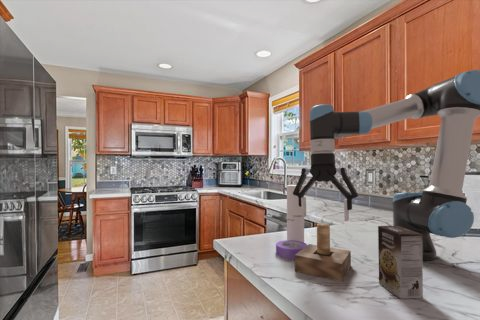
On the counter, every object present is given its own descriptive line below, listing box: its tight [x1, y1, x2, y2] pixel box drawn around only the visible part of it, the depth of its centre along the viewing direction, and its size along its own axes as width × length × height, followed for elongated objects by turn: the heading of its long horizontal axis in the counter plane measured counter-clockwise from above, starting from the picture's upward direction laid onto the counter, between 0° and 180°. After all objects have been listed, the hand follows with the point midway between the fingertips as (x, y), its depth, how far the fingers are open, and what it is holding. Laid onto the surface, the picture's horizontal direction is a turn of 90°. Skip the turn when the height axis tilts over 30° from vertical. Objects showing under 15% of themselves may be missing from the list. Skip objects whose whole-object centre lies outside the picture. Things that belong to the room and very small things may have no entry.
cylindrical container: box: [286, 184, 305, 243], centre depth 110 cm, size 7×7×25 cm
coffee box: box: [377, 225, 424, 300], centre depth 69 cm, size 9×6×16 cm
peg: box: [316, 223, 331, 257], centre depth 84 cm, size 4×4×14 cm
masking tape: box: [275, 239, 308, 260], centre depth 98 cm, size 12×12×4 cm
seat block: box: [294, 243, 352, 283], centre depth 84 cm, size 14×14×5 cm
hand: (324, 218), depth 84 cm, fingers open, 13 cm apart
